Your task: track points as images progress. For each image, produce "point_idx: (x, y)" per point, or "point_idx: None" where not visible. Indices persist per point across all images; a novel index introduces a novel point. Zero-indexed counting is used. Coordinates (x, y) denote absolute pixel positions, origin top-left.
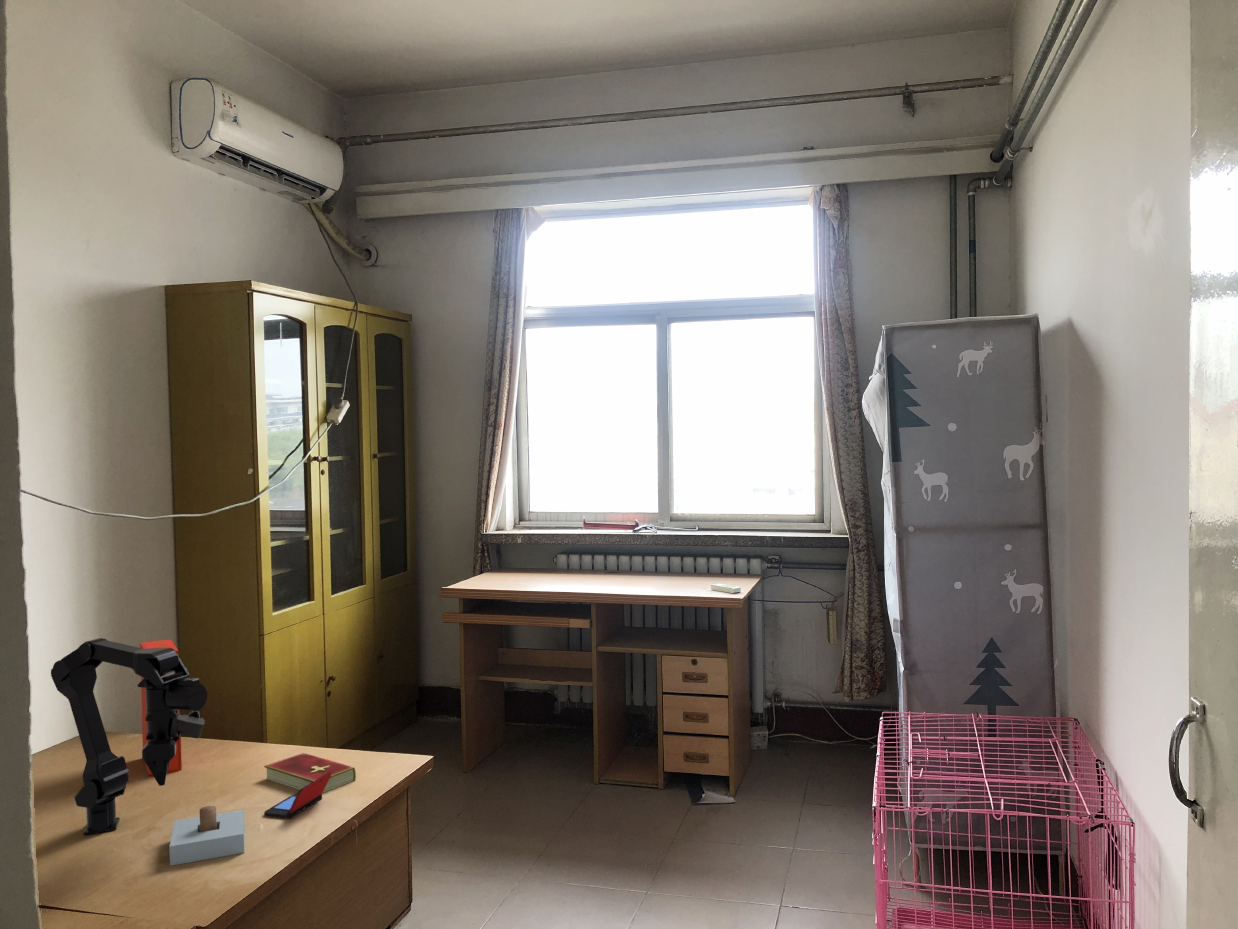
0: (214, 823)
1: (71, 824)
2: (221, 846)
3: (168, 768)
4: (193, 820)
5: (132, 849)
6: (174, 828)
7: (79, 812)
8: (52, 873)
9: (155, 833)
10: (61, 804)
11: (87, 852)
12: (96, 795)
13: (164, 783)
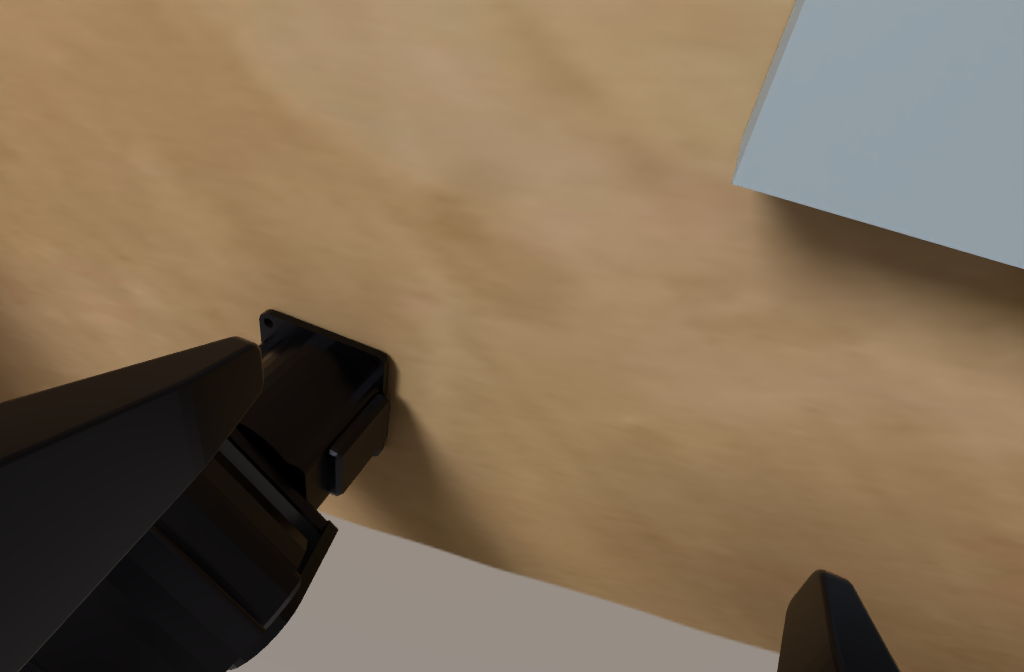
0: None
1: None
2: None
3: (231, 356)
4: (890, 30)
5: (704, 370)
6: (942, 233)
7: None
8: (718, 628)
9: (544, 218)
10: None
11: (582, 496)
12: (306, 581)
13: (861, 604)
